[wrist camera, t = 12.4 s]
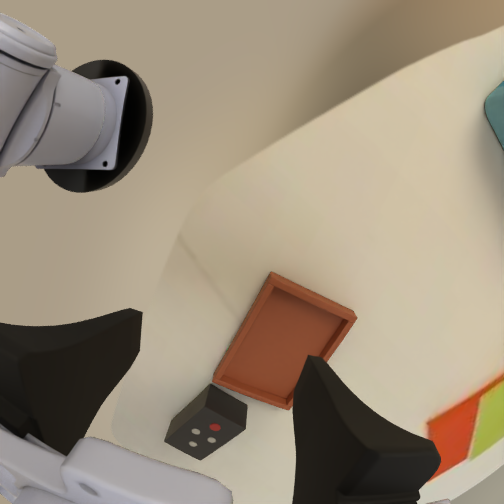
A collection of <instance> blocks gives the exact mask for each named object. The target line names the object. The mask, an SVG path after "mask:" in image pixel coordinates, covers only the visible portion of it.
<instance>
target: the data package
mask: <svg viewBox="0 0 504 504" xmlns="http://www.w3.org/2000/svg"><path fill="white" fill-rule="evenodd" d="M485 111H486V115H487V118H488V120H489V122H490V124H491V126H492V127H493V129H494V131H495V133H496V135H497V137H498V139H499V141H500V143H501V145H502V147H503V149H504V81H503V82H502V83H501V84H500V85H499V86H498V87H497V88H496V89H495V90H494V91H493V92H492V93H491V94H490V95H489V96H488V97H487V99H486V102H485Z"/></svg>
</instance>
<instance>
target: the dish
mask: <svg viewBox="0 0 504 504" xmlns="http://www.w3.org/2000/svg"><path fill="white" fill-rule="evenodd" d="M356 320H357V316H356V315H355V313H354V311H352V310H350V309H348V308H346V307H344V306H342V305H340V304H338V303H336V302H333V301H331V300H329V299H327V298H325V297H323V296H321V295H319V294H317V293H315V292H313V291H311V290H309V289H306V288H304V287H302V286H300V285H298V284H296V283H294V282H292V281H290V280H288V279H286V278H284V277H282V276H280V275H278V274H275V273H273V272H270V274H269V276H268V278H267V280H266V282H265V283H264V285H263V287H262V289H261V291H260V292H259V294H258V296H257V298H256V300H255V302H254V303H253V305H252V307H251V309H250V311H249V312H248V314H247V316H246V318H245V319H244V321H243V323H242V325H241V327H240V328H239V330H238V332H237V334H236V335H235V337H234V339H233V341H232V343H231V344H230V346H229V348H228V350H227V351H226V353H225V355H224V357H223V358H222V360H221V362H220V364H219V365H218V367H217V369H216V371H215V372H214V375H213V379H212V382H214V383H216V384H218V385H221V386H223V387H226V388H228V389H231V390H233V391H236V392H238V393H241V394H243V395H246V396H249V397H251V398H254V399H257V400H259V401H262V402H265V403H268V404H271V405H274V406H276V407H279V408H282V409H285V410H290V408H291V407H292V406H293V394H294V389H295V387H296V384H297V382H298V379H299V377H300V374H301V372H302V369H303V366H304V364H305V361H306V359H307V356H308V355H312V356H317V357H322V358H323V359H324V360H325V361H326V362H327V361H328V360H329V358H330V357H331V356H332V354H333V353H334V351H335V350H336V349H337V347H338V346H339V344H340V343H341V342H342V340H343V339H344V337H345V336H346V334H347V333H348V331H349V330H350V328H351V327H352V325H353V324H354V323H355V321H356Z"/></svg>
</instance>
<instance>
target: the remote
mask: <svg viewBox="0 0 504 504" xmlns="http://www.w3.org/2000/svg"><path fill="white" fill-rule="evenodd" d="M246 419H247V405H246V404H244V403H242V402H240V401H239V400H237V399H235V398H233V397H232V396H230V395H228V394H227V393H225V392H223V391H222V390H220V389H218V388H217V387H215V386H214V385H212V384H210V385H209V386H208V387H206V388H205V389H204V390H203V391H202V392H201V393H200V394H199V395H198V396H197V397H196V398H195V399H194V400H193V401H192V402H191V403H190V404H189V405H188V406H187V407H185V408H184V409H183V410H182V411H181V412H180V413H179V414H178V415H177V416H176V417H175V418H174V419H173V420H171V423H170V426H169V429H168V432H167V434H166V437H165V440H164V442H166V443H168V444H169V445H171V446H173V447H175V448H177V449H179V450H181V451H182V452H184V453H186V454H188V455H190V456H192V457H194V458H196V459H198V460H202V459H204V458H205V457H207V456H208V455H210V454H211V453H213V452H214V451H216V450H217V449H218V448H220V447H221V446H223V445H224V444H226V443H227V442H228V441H230V440H231V439H233V438H234V437H235V436H237V435H238V434H240V433H241V432H242V431H244V430H245V429H246Z"/></svg>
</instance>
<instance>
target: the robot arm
mask: <svg viewBox="0 0 504 504" xmlns="http://www.w3.org/2000/svg"><path fill="white" fill-rule="evenodd" d="M56 61H57V55H56V47H55V45H54V44H53V43H52V42H51V41H49V40H48V39H47V38H45V37H44V36H43V35H41V34H40V33H38V32H37V31H35V30H34V29H32V28H30V27H29V26H27V25H25V24H23V23H22V22H20V21H17V20H16V19H14V18H12V17H9V16H7V15H5V14H3V13H0V177H4V176H5V175H6V173H7V171H8V170H9V169H10V168H11V167H12V166H31V165H35V167H36V168H37V169H89V170H114V169H115V168H116V167H117V163H118V154H119V145H120V137H121V130H122V123H123V117H124V111H125V105H126V99H127V94H128V88H129V83H130V79H129V78H128V77H126V76H119V77H109V78H100V79H92V80H89V79H87V78H85V77H82V76H80V75H78V74H76V73H74V72H71V71H69V70H67V69H64V68H62V67H60V66H57V65H55V62H56ZM119 80H120V83H119V84H118V85H117V82H118V81H119ZM106 161H107V162H108V165H107V167H106V166H105V162H106ZM142 314H143V313H142V312H140V311H137V310H134V309H131V308H129V309H124V310H120V311H117V312H113V313H110V314H107V315H104V316H100V317H97V318H93V319H89V320H85V321H81V322H77V323H71V324H65V325H56V326H20V325H11V324H5V323H0V494H1V495H3V496H4V497H5V498H6V499H7V500H8V501H10V502H11V503H12V504H233V497H232V492H231V491H230V490H229V489H228V488H227V487H225V486H224V485H223V484H221V483H220V482H219V481H218V480H216V479H213V478H211V477H208V476H205V475H203V474H200V473H198V472H194V471H190V470H187V469H183V468H180V467H176V466H173V465H170V464H167V463H164V462H161V461H158V460H155V459H152V458H149V457H146V456H143V455H141V454H138V453H135V452H133V451H130V450H128V449H125V448H123V447H120V446H118V445H115V444H113V443H111V442H108V441H105V440H102V439H98V438H95V437H87V438H84V436H85V434H86V432H87V430H88V428H89V426H90V424H91V423H92V420H93V419H94V417H95V415H96V413H97V412H98V410H99V408H100V406H101V405H102V404H103V402H104V401H105V399H106V398H107V396H108V395H109V394H110V393H111V391H112V390H113V389H114V387H115V386H116V385H117V384H118V383H119V381H120V380H121V379H122V378H123V376H124V375H125V374H126V373H127V371H128V370H129V369H130V367H131V366H132V364H133V362H134V361H135V359H136V357H137V355H138V353H139V351H140V340H141V326H142ZM293 422H294V434H295V445H296V471H295V484H294V495H293V502H292V504H417V502H416V501H418V500H419V499H420V494H419V491H418V490H419V489H420V488H421V487H422V486H423V485H424V484H425V483H426V482H427V481H428V480H429V479H430V478H431V477H432V476H433V475H434V473H435V472H436V471H437V469H438V468H439V465H440V463H441V457H440V455H439V453H438V451H437V449H436V446H435V444H434V442H433V441H431V440H428V439H425V438H423V437H420V436H417V435H415V434H412V433H410V432H408V431H406V430H404V429H402V428H400V427H398V426H396V425H394V424H393V423H391V422H389V421H388V420H386V419H385V418H383V417H381V416H380V415H379V414H377V413H376V412H374V411H373V410H372V409H371V408H369V407H368V406H367V405H366V404H364V403H363V402H362V401H361V400H360V399H359V398H358V397H357V396H356V395H355V394H354V393H353V392H352V391H351V390H350V389H349V388H348V387H347V386H346V385H345V384H344V383H343V382H342V380H341V379H340V378H339V377H338V376H337V375H336V373H335V372H334V371H333V370H332V369H331V367H330V366H329V365H328V364H327V363H326V361H325V360H324V359H323V358H322V357H317V356H312V355H308V356H307V359H306V361H305V364H304V366H303V369H302V372H301V374H300V377H299V379H298V382H297V384H296V387H295V389H294V394H293ZM427 504H451V502H450V500H449V499H445V500H440V501H436V502H431V503H427Z"/></svg>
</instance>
